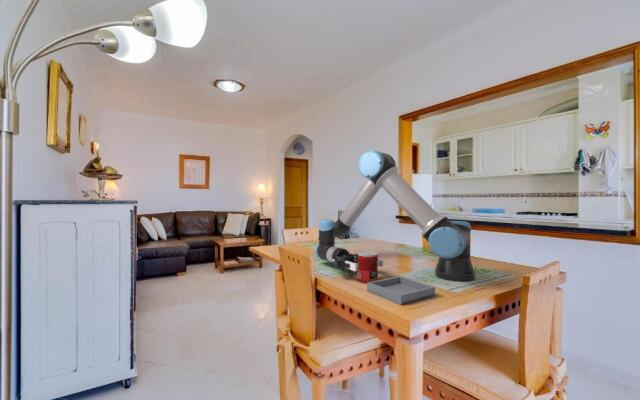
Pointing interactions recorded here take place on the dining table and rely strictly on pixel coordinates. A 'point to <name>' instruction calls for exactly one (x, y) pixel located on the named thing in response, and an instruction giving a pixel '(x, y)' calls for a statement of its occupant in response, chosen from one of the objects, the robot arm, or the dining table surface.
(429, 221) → the robot arm
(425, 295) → the tray
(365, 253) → the canned food
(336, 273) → the dining table surface
